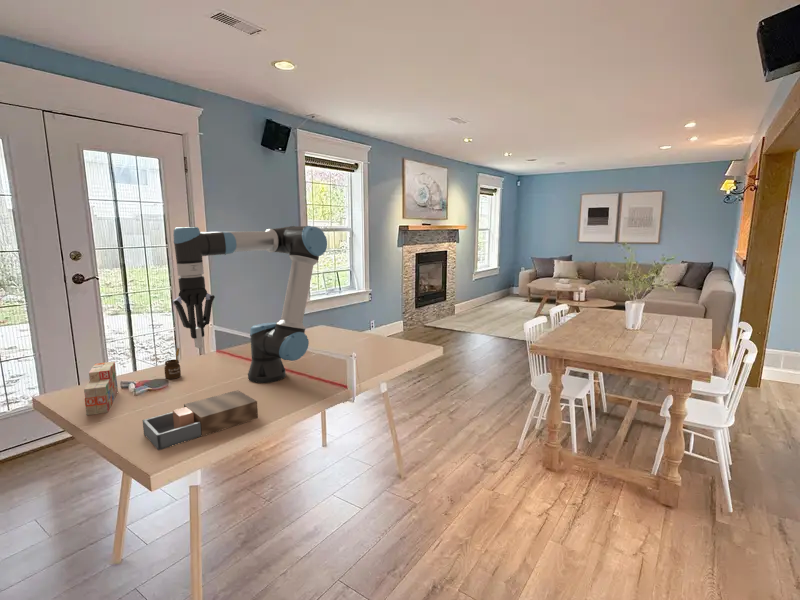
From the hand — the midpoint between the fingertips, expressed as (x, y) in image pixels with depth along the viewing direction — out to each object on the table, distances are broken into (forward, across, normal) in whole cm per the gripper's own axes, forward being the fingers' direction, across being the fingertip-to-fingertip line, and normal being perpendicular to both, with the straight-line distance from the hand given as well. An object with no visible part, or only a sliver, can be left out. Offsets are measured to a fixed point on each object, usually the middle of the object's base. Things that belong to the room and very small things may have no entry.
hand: (199, 347), depth 143 cm
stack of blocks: (+23, -22, +36) cm, 48 cm away
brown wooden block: (+23, +1, -9) cm, 25 cm away
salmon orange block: (+19, -8, -9) cm, 23 cm away
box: (+23, -14, -9) cm, 28 cm away
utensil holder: (+24, +6, +46) cm, 53 cm away
